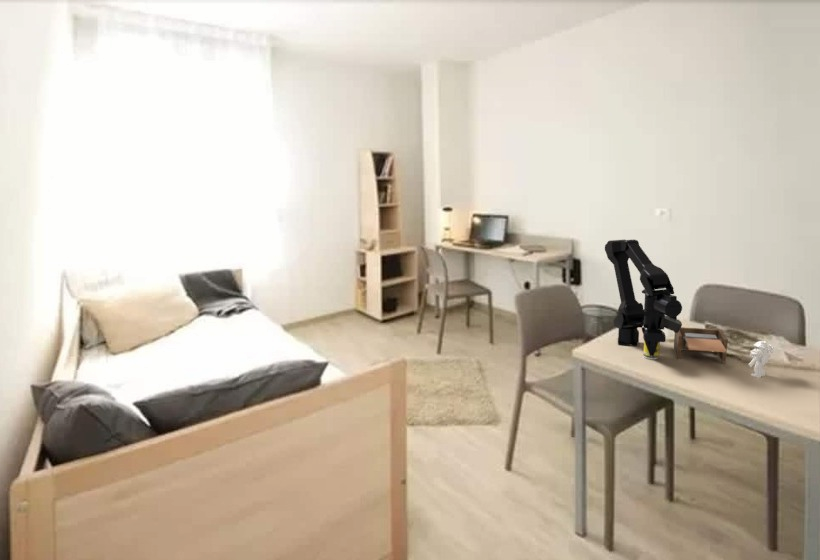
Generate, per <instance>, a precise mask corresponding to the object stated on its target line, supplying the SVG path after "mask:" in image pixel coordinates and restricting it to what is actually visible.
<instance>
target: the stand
mask: <svg viewBox="0 0 820 560" xmlns="http://www.w3.org/2000/svg"><path fill="white" fill-rule="evenodd" d="M685 333H694V334H710V335H716V337H717V339H722V344H723V346H724V347H725V349H726V352H716V354H717V355H718V358H719V360H720V361H721V363H726V362H727V351H728V344H729V343H728V341H729V339H728V338H727V336H726V334H725V333H724V332H723V330H722V329H718V328H717V329H716V328H715V329H714V328H699V327H697V328H696V327H684V326H683V327H682V326H681V328H680V330H679V332H678V333H676V332H674V334H673V336H674V337H673V352H674V353H675V356H676V359H677V360H681V357H682V356H681V355H682V351H693V352H702V351H701V350H689V348H686V347H685V345H684V340H683V337H685ZM707 353H713V352H712V351H708V352H707Z"/></svg>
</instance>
